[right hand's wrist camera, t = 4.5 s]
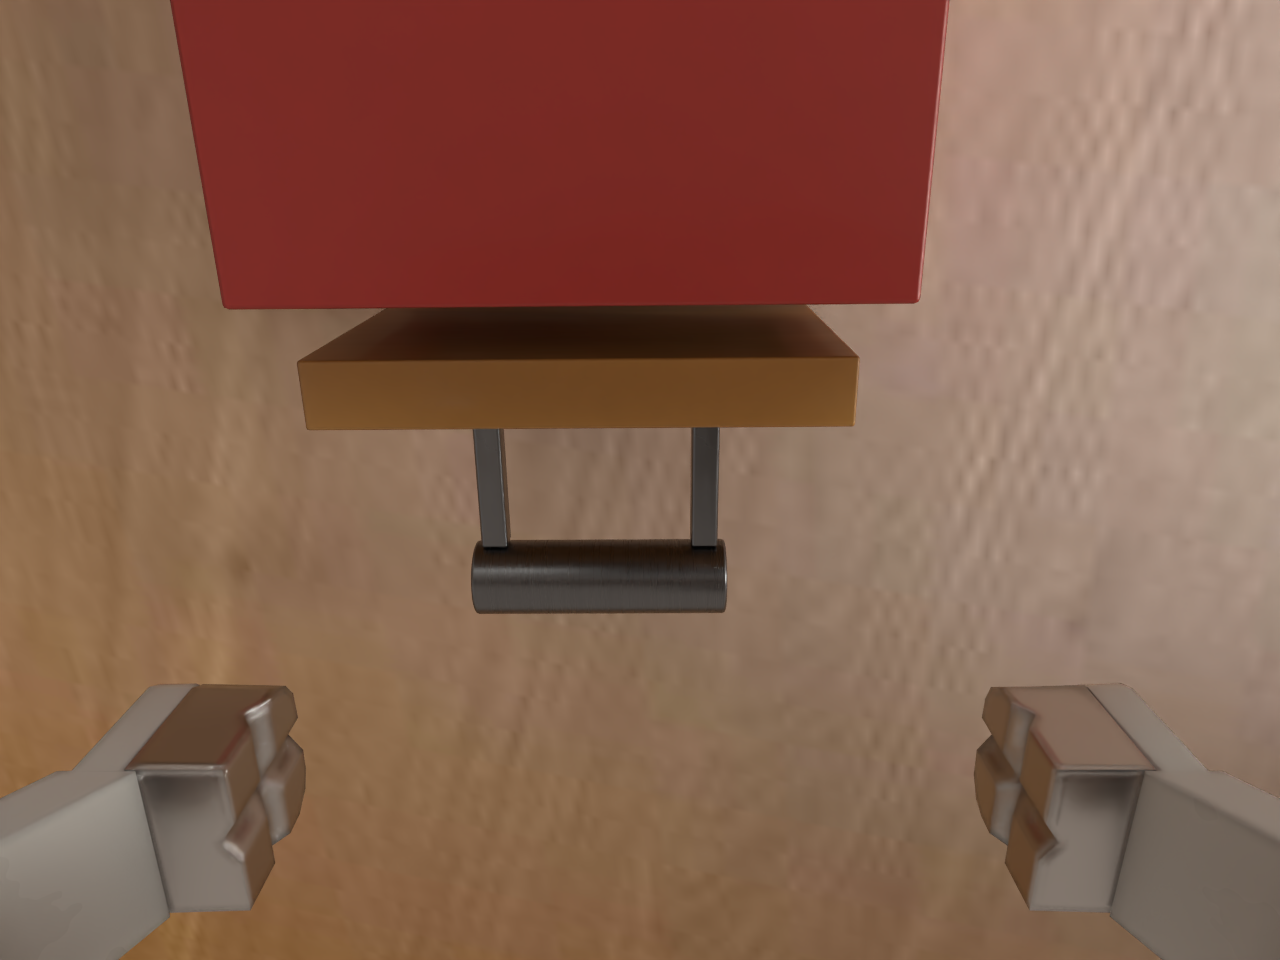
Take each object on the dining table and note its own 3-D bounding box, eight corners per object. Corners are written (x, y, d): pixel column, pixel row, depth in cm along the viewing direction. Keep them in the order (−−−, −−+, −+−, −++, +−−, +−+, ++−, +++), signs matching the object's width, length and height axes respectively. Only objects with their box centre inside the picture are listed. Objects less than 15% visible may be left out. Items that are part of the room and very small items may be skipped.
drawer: (774, 540, 25) (832, 721, 17) (443, 542, 25) (348, 722, 17) (824, -546, 17) (976, -1151, 9) (341, -536, 17) (76, -1122, 9)
